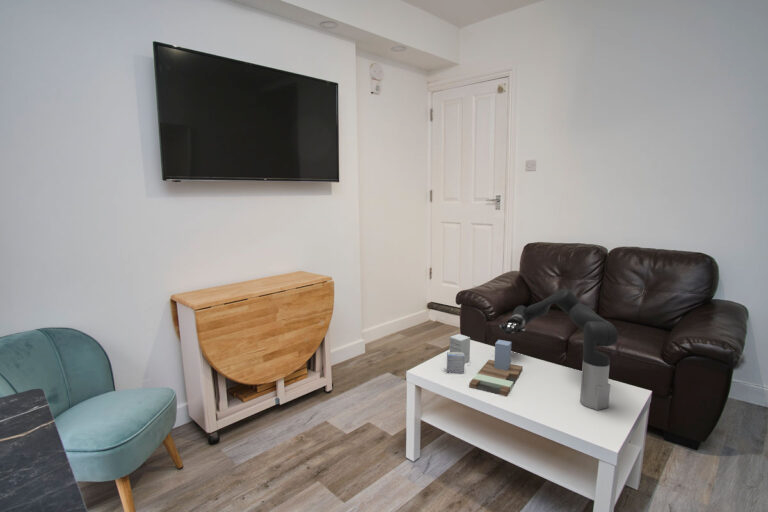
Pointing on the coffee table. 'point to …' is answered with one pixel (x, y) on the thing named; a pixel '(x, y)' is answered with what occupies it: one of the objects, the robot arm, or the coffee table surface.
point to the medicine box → (455, 362)
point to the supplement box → (460, 345)
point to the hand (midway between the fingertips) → (507, 332)
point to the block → (502, 355)
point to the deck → (489, 370)
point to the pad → (493, 381)
